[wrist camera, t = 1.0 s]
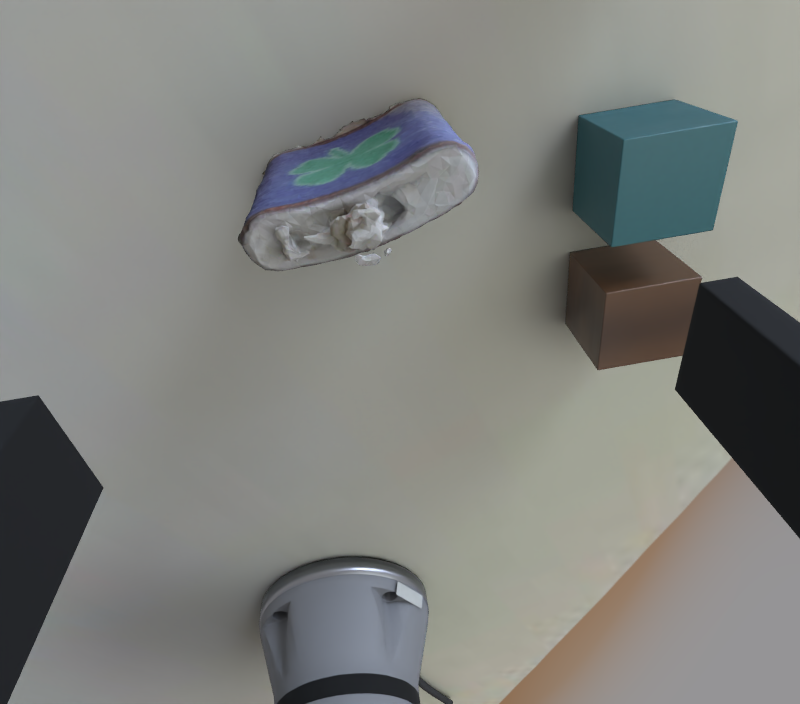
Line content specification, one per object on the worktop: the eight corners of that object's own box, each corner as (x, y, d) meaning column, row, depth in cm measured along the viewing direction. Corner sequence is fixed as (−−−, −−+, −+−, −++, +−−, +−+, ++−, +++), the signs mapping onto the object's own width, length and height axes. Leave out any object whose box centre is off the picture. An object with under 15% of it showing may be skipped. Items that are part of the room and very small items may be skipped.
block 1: (660, 196, 29) (713, 230, 25) (572, 211, 29) (611, 247, 25) (675, 99, 26) (738, 120, 22) (578, 115, 26) (623, 139, 22)
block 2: (641, 310, 34) (684, 355, 30) (565, 323, 34) (597, 370, 30) (653, 238, 31) (702, 276, 27) (569, 252, 31) (606, 293, 27)
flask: (430, 87, 25) (485, 146, 16) (447, 147, 27) (505, 230, 18) (253, 159, 26) (214, 251, 17) (280, 213, 28) (258, 321, 19)
